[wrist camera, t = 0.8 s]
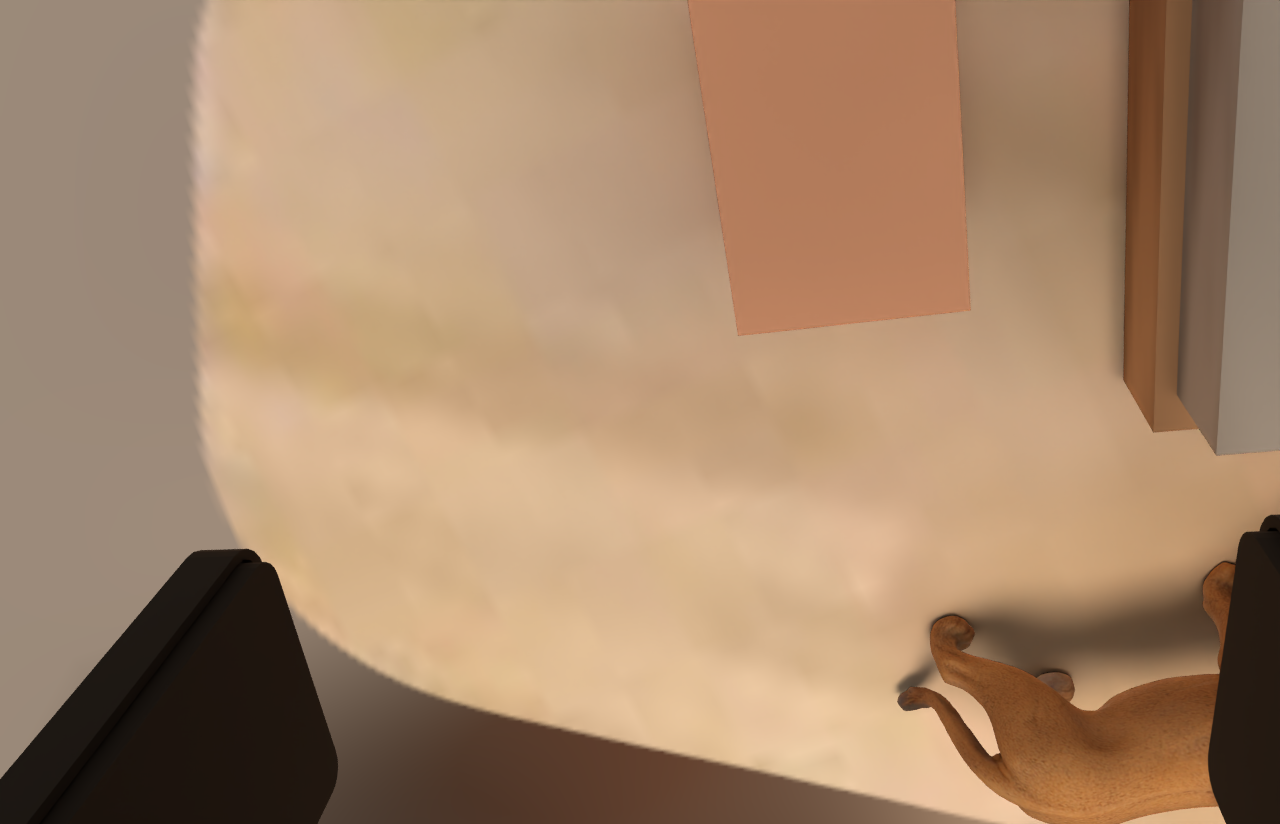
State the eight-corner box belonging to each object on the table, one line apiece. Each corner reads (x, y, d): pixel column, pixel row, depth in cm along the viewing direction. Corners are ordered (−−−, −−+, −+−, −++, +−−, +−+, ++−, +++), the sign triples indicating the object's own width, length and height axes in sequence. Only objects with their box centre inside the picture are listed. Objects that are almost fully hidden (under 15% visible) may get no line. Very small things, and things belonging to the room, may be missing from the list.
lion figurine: (1370, 478, 30) (1567, 705, 22) (1411, 622, 32) (1606, 878, 24) (867, 633, 35) (883, 865, 27) (929, 751, 37) (960, 1000, 29)
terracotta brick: (922, -110, 25) (950, -96, 20) (942, 223, 29) (970, 310, 23) (707, -70, 26) (680, -46, 21) (751, 247, 30) (738, 335, 24)
